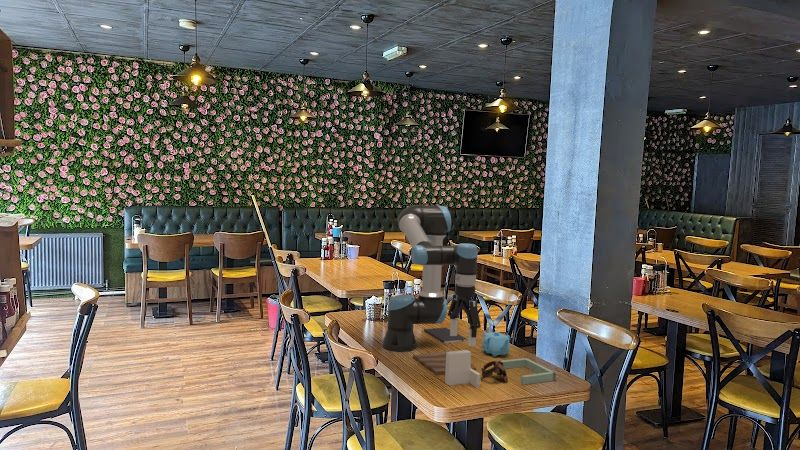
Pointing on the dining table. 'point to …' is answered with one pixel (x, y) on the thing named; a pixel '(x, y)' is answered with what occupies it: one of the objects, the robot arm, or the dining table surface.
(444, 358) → the board
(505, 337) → the blue piggy bank
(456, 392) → the dining table surface
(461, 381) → the grey l-shaped bookend
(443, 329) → the notebook
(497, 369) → the brown twisted sculpture
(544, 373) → the corral
